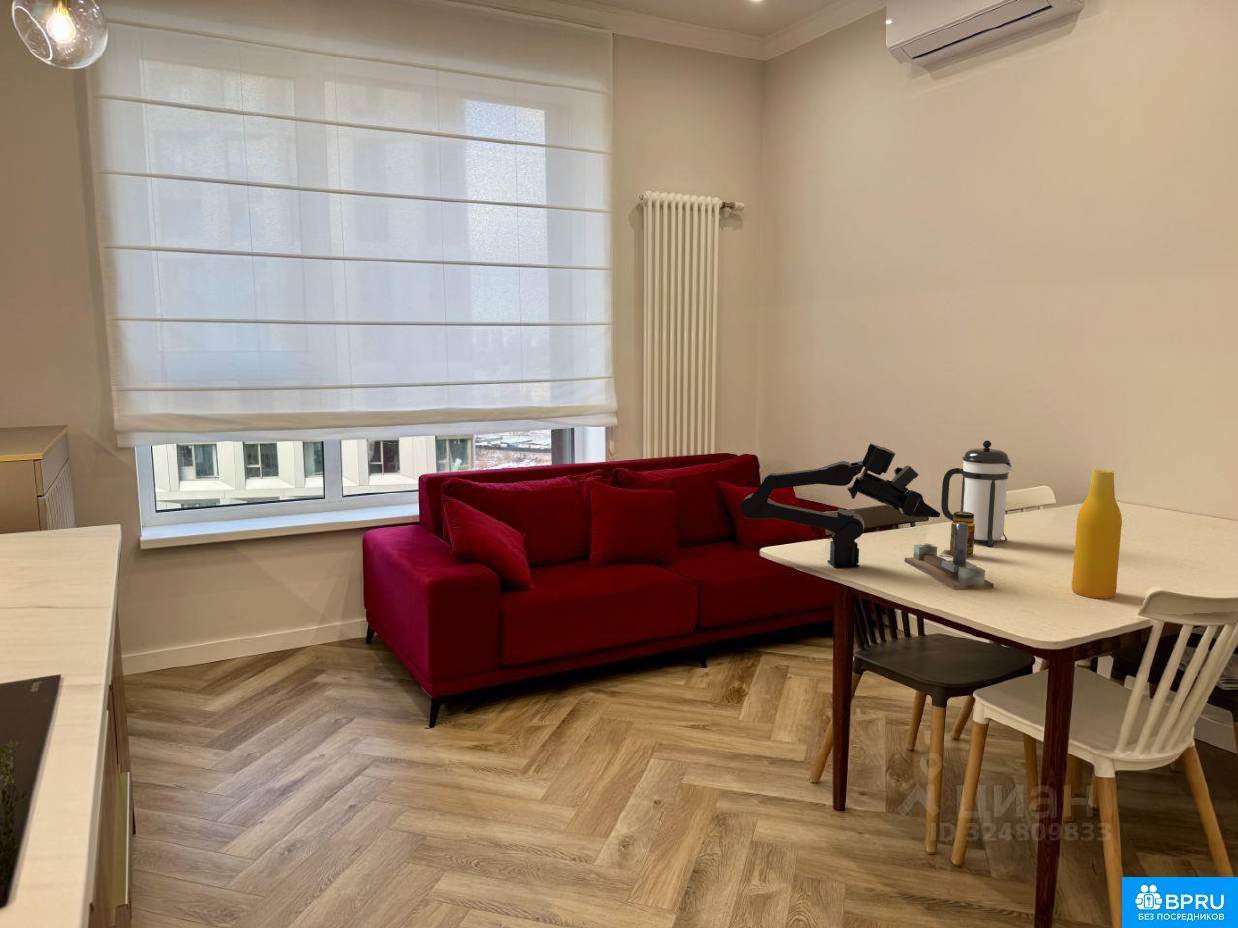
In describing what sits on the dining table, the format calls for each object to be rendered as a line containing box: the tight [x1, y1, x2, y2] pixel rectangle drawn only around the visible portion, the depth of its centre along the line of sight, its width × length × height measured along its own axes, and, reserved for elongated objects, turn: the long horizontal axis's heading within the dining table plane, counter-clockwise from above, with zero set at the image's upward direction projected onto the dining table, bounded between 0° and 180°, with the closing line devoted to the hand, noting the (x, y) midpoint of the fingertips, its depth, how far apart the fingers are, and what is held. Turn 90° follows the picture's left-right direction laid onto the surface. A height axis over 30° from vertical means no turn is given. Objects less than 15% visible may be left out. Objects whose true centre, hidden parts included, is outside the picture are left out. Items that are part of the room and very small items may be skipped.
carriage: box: [942, 522, 978, 572], centre depth 215 cm, size 6×6×11 cm
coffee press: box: [940, 440, 1014, 548], centre depth 258 cm, size 17×16×30 cm
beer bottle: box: [1071, 469, 1123, 600], centre depth 204 cm, size 9×9×29 cm
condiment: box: [939, 510, 977, 560], centre depth 242 cm, size 7×8×12 cm
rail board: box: [903, 542, 995, 590], centre depth 222 cm, size 10×27×5 cm, turn 7°
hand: (935, 513), depth 224 cm, fingers open, 9 cm apart
